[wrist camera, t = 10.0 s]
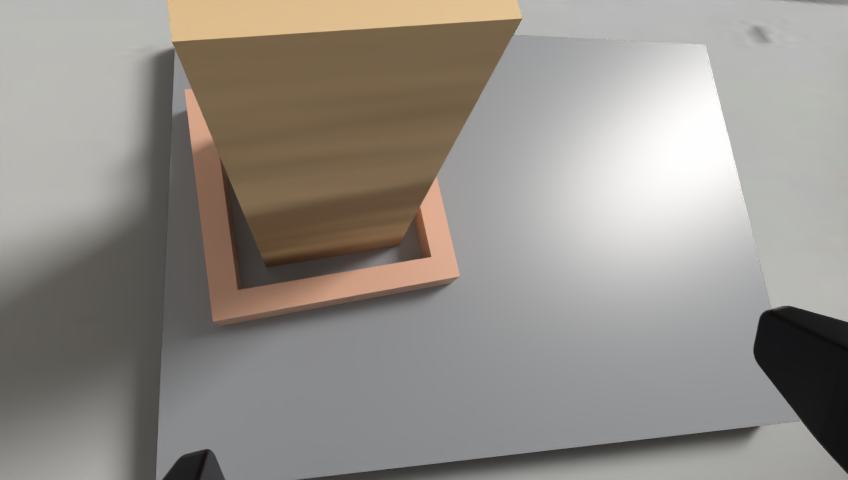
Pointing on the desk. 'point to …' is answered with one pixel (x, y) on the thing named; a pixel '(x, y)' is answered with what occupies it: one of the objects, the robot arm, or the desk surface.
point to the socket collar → (310, 292)
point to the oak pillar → (336, 108)
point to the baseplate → (497, 289)
